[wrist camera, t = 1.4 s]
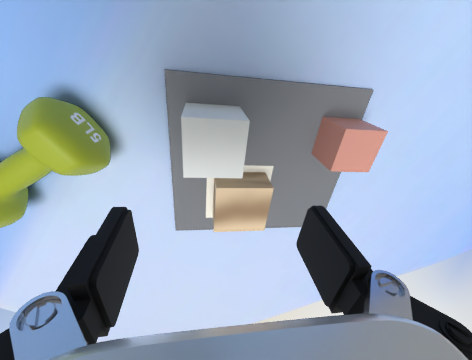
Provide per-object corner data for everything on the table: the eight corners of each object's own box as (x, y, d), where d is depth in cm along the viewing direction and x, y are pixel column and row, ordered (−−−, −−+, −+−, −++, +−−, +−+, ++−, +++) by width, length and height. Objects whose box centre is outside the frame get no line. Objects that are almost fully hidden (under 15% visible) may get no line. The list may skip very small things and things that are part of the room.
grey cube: (185, 102, 23) (181, 116, 18) (239, 106, 24) (249, 120, 19) (187, 153, 26) (183, 177, 21) (234, 154, 27) (242, 178, 22)
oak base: (214, 171, 28) (216, 187, 24) (265, 172, 29) (273, 188, 25) (212, 212, 31) (213, 231, 28) (257, 211, 32) (264, 230, 29)
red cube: (322, 116, 26) (346, 129, 22) (358, 118, 27) (387, 131, 22) (311, 153, 28) (330, 171, 24) (344, 154, 29) (368, 172, 25)
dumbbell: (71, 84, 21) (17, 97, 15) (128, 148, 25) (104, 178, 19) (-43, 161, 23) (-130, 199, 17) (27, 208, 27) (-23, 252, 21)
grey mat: (165, 69, 21) (164, 70, 21) (371, 89, 25) (373, 89, 25) (176, 228, 32) (175, 230, 32) (317, 224, 36) (319, 226, 36)
